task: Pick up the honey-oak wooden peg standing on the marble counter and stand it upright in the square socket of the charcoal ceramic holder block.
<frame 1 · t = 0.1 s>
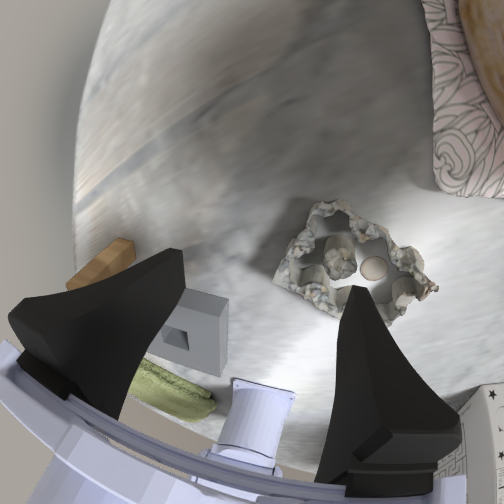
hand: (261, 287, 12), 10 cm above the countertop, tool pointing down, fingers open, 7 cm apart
charcoal socket block: (184, 321, 30), on the countertop
cereal box: (464, 420, 29), on the countertop
washcloth: (163, 382, 42), on the countertop
oak peg: (126, 248, 27), on the countertop
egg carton: (355, 257, 22), on the countertop
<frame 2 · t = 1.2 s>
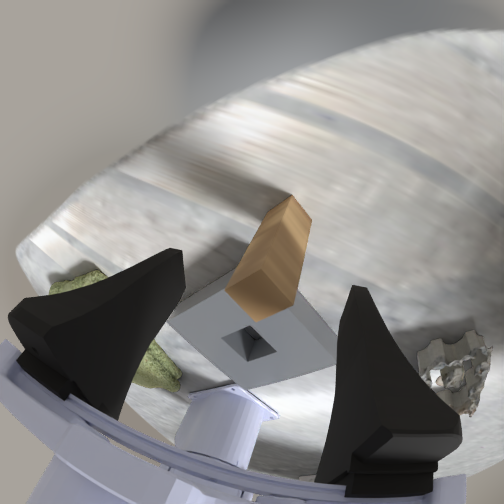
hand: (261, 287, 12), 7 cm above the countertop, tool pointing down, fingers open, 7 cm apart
charcoal socket block: (256, 323, 23), on the countertop
washcloth: (118, 329, 32), on the countertop
oak peg: (289, 215, 18), on the countertop
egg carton: (445, 366, 21), on the countertop
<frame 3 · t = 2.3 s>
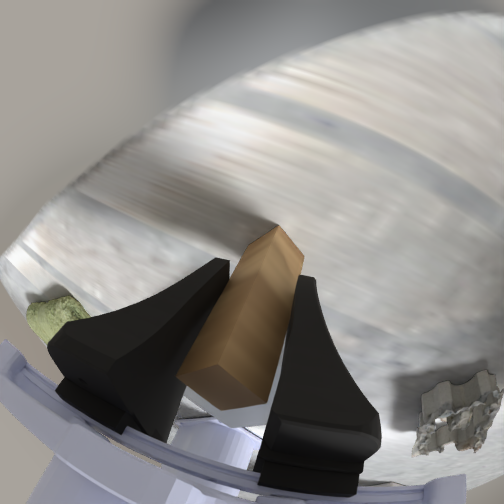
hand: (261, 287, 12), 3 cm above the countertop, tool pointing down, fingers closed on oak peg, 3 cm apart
charcoal socket block: (241, 363, 20), on the countertop
washcloth: (99, 352, 28), on the countertop
oak peg: (276, 250, 14), on the countertop, touching gripper
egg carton: (451, 403, 18), on the countertop
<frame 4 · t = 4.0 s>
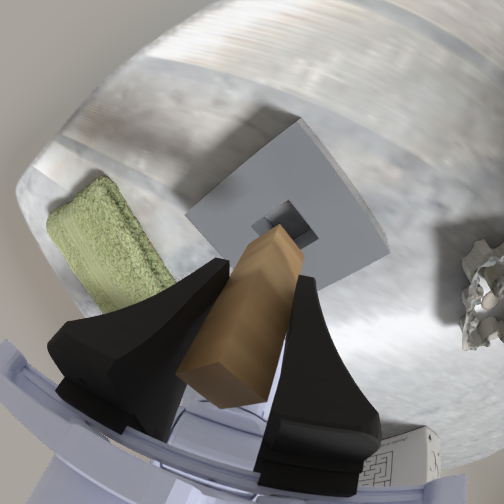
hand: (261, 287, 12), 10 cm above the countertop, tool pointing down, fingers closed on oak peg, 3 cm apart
charcoal socket block: (290, 216, 21), on the countertop
cereal box: (377, 447, 38), on the countertop
washcloth: (122, 260, 29), on the countertop
oak peg: (276, 249, 14), point 7 cm above the countertop, touching gripper
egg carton: (489, 283, 19), on the countertop
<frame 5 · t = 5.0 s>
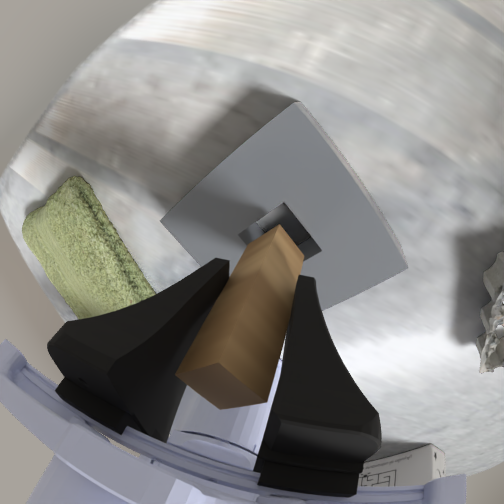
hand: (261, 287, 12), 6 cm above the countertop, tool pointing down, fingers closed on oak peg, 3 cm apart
charcoal socket block: (287, 222, 17), on the countertop
cereal box: (379, 464, 34), on the countertop
washcloth: (101, 269, 25), on the countertop
oak peg: (276, 249, 14), point 3 cm above the countertop, touching gripper
when the fingers open (4 cm above the countertop, at t = 5.9 s): oak peg stays where it is, resting in charcoal socket block.
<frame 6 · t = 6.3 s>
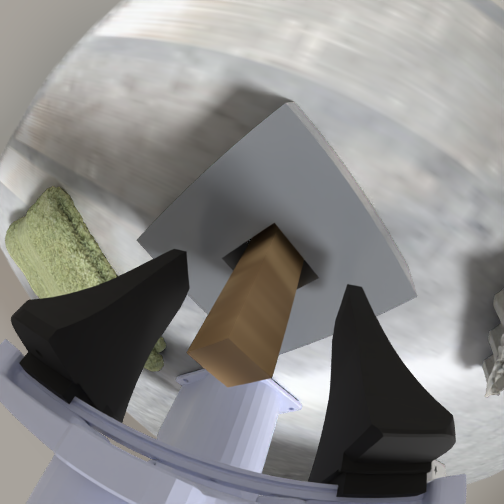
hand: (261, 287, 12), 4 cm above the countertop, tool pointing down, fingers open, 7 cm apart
charcoal socket block: (279, 241, 15), on the countertop
washcloth: (86, 282, 23), on the countertop
oak peg: (280, 240, 15), resting in charcoal socket block
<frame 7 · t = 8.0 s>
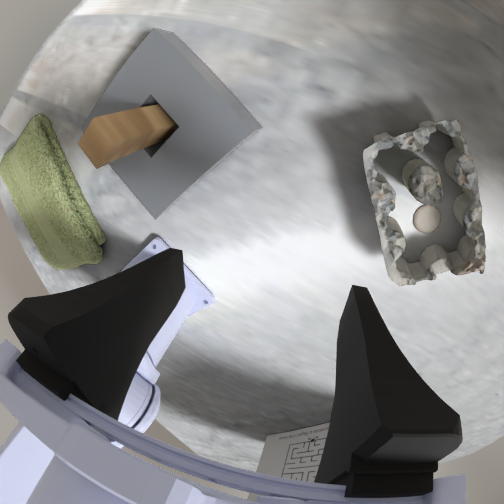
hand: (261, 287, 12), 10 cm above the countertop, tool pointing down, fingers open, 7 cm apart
charcoal socket block: (169, 121, 19), on the countertop
cereal box: (332, 431, 36), on the countertop
washcloth: (55, 195, 27), on the countertop
oak peg: (169, 120, 19), resting in charcoal socket block
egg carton: (418, 196, 18), on the countertop
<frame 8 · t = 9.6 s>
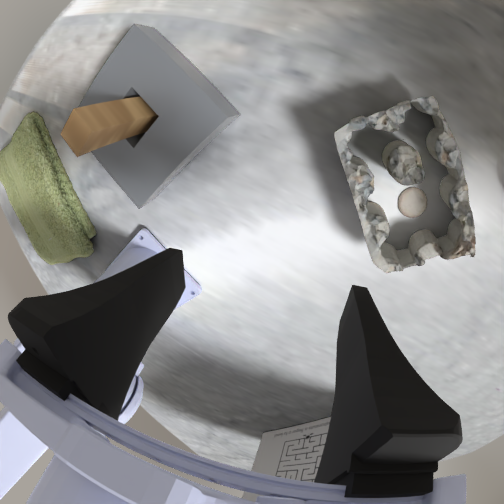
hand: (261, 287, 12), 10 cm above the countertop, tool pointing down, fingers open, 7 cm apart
charcoal socket block: (151, 113, 19), on the countertop
cereal box: (328, 428, 36), on the countertop
washcloth: (48, 191, 27), on the countertop
oak peg: (152, 112, 19), resting in charcoal socket block
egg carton: (402, 179, 17), on the countertop
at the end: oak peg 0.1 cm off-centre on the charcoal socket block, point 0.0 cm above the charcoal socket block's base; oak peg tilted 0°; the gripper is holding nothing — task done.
